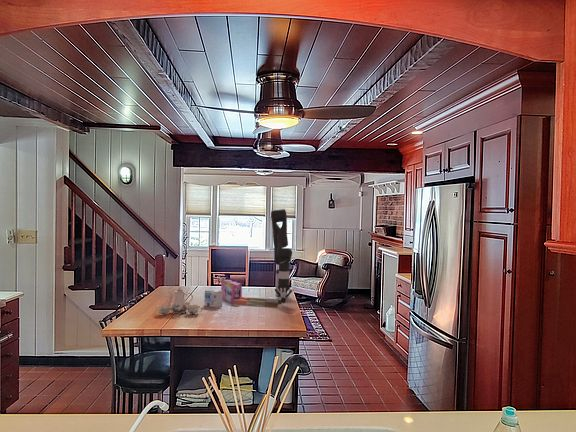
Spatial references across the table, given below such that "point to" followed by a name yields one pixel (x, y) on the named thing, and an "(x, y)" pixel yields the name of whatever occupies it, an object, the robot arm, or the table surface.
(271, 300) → the slate block
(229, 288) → the gum box
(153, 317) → the table surface
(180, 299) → the chinaware
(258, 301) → the track
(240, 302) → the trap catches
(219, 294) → the light bulb box
